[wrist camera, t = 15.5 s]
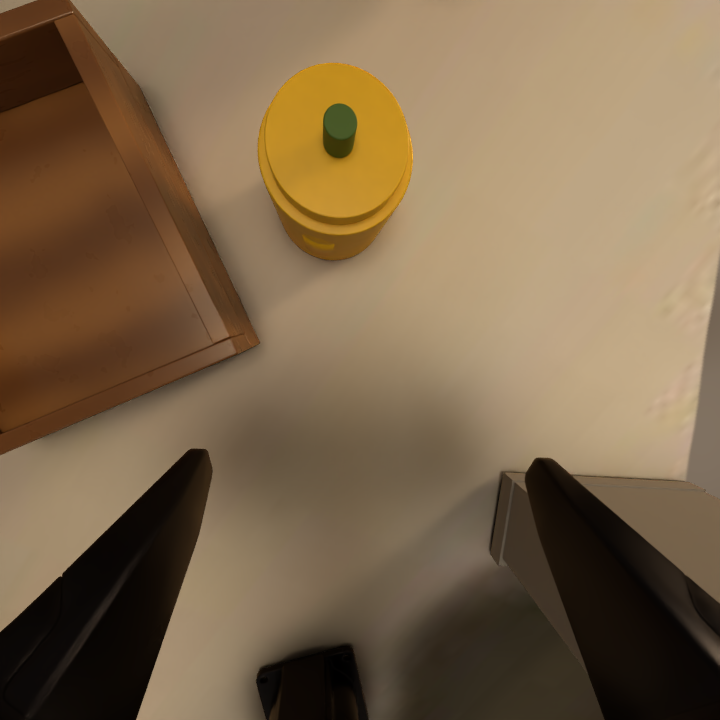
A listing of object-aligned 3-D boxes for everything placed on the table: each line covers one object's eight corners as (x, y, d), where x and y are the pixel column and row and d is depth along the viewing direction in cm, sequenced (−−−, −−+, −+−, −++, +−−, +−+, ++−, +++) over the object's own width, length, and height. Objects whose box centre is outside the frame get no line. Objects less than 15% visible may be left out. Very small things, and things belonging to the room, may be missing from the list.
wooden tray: (260, 343, 21) (238, 354, 15) (37, 437, 20) (-69, 483, 15) (139, 85, 18) (62, -11, 13) (-118, 183, 18) (-314, 125, 12)
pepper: (369, 274, 21) (405, 246, 12) (265, 244, 20) (219, 188, 11) (398, 168, 20) (458, 55, 11) (291, 132, 19) (266, -22, 10)
